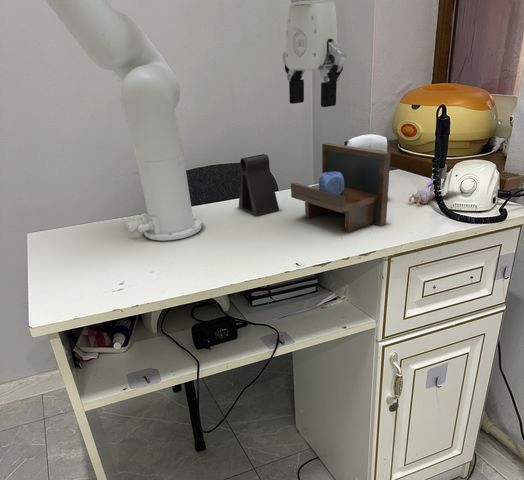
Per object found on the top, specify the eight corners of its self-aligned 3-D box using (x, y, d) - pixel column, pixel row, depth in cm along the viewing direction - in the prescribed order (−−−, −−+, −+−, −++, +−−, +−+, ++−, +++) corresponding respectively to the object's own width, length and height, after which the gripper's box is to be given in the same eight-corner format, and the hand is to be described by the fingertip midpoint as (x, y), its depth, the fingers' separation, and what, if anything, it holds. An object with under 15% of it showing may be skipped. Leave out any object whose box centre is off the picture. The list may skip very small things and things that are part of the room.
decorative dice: (326, 197, 99) (326, 177, 97) (318, 193, 102) (318, 173, 100) (344, 194, 100) (344, 174, 97) (336, 190, 103) (336, 170, 101)
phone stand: (279, 210, 114) (275, 156, 107) (256, 216, 112) (252, 161, 105) (259, 202, 121) (255, 151, 114) (238, 207, 118) (233, 155, 112)
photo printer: (381, 182, 128) (384, 131, 121) (387, 186, 124) (390, 134, 118) (343, 186, 127) (344, 135, 120) (348, 190, 123) (349, 138, 117)
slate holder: (344, 238, 96) (346, 163, 88) (288, 218, 109) (285, 151, 101) (386, 224, 101) (390, 152, 93) (327, 206, 114) (327, 142, 106)
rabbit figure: (424, 213, 108) (470, 188, 113) (423, 187, 105) (472, 163, 109) (403, 207, 113) (449, 184, 117) (402, 182, 109) (449, 159, 114)
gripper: (266, -1, 89) (270, 103, 98) (327, -11, 76) (325, 110, 86) (299, -1, 92) (300, 99, 101) (363, -11, 80) (357, 105, 89)
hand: (312, 104), depth 94 cm, fingers open, 9 cm apart
